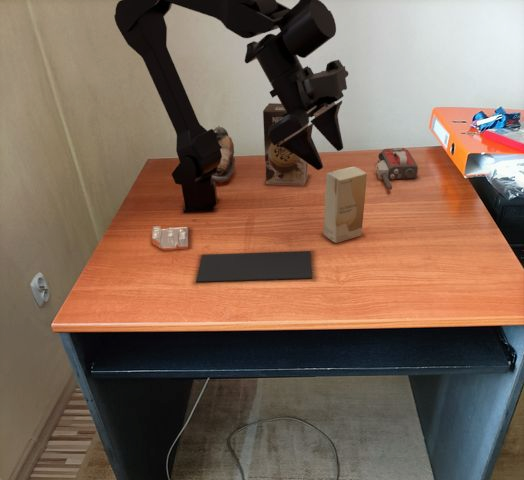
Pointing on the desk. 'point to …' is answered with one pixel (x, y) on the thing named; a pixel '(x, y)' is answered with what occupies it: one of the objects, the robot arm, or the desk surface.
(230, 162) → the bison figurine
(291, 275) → the mat
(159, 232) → the stamped metal plate
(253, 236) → the desk surface
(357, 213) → the cosmetic box
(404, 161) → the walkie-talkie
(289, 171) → the coffee box
